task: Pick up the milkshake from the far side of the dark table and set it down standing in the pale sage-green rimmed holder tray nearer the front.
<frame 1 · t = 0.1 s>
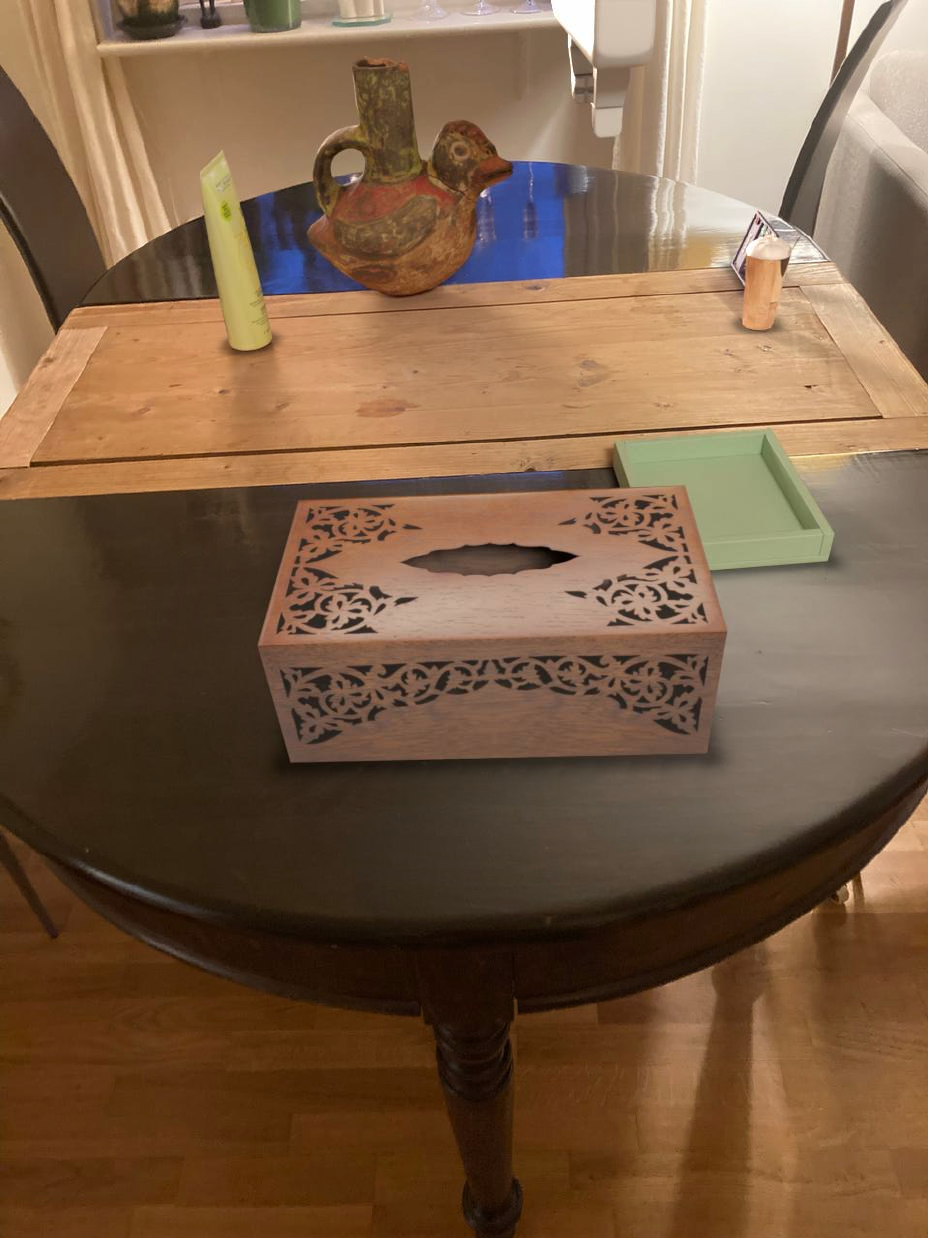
hand: (594, 117, 65), 28 cm above the table, tool pointing down, fingers open, 8 cm apart
holder: (712, 510, 75), on the table
tube: (251, 344, 106), on the table
ceramic vessel: (414, 288, 116), on the table
tissue box cover: (495, 678, 63), on the table
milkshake: (760, 326, 101), on the table
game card: (758, 279, 111), on the table
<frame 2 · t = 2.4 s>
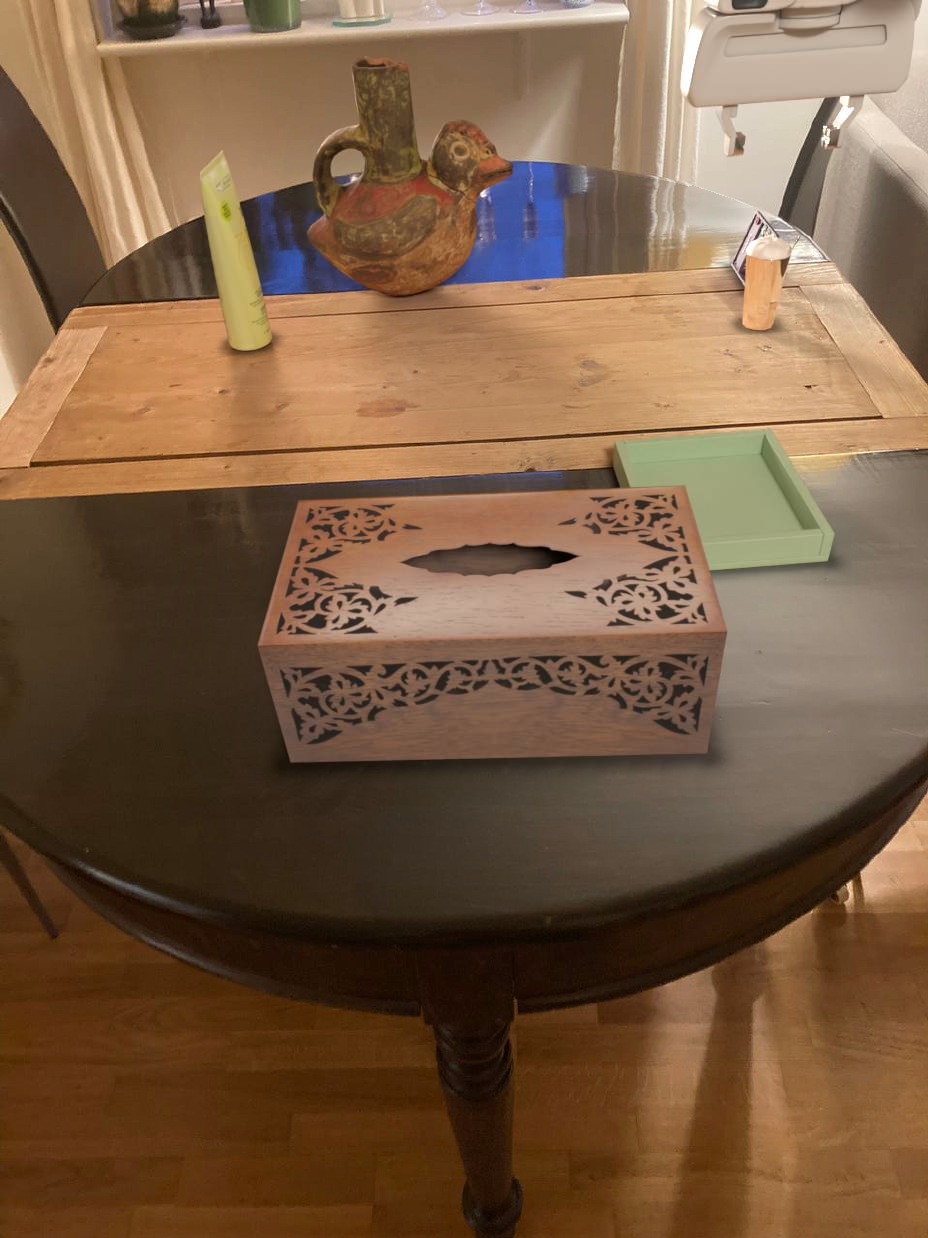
hand: (781, 150, 88), 18 cm above the table, tool pointing down, fingers open, 8 cm apart
nothing on the table moved.
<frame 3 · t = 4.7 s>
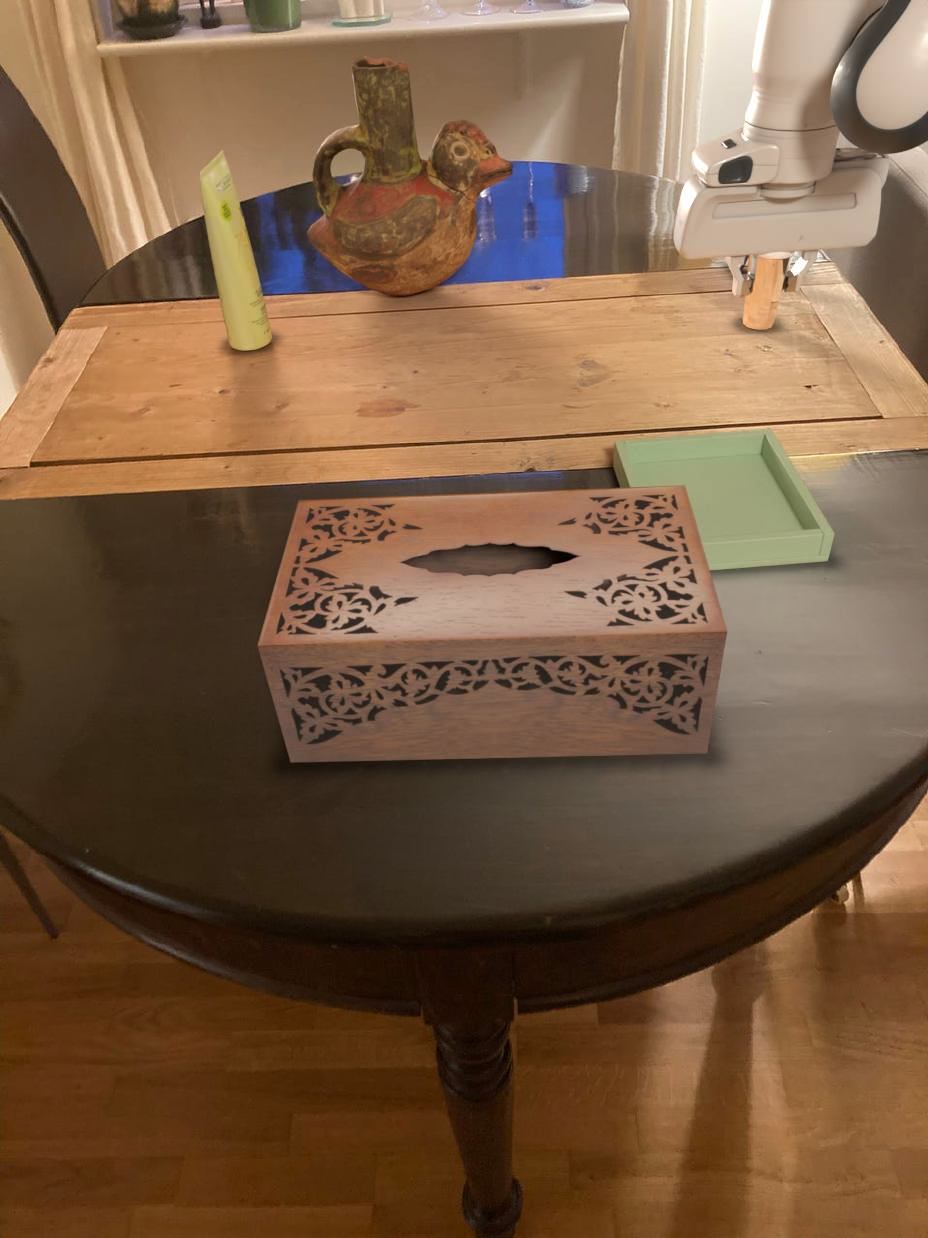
hand: (764, 292, 99), 4 cm above the table, tool pointing down, fingers closed on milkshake, 4 cm apart
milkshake: (760, 326, 101), on the table, touching gripper
everything else where it was.
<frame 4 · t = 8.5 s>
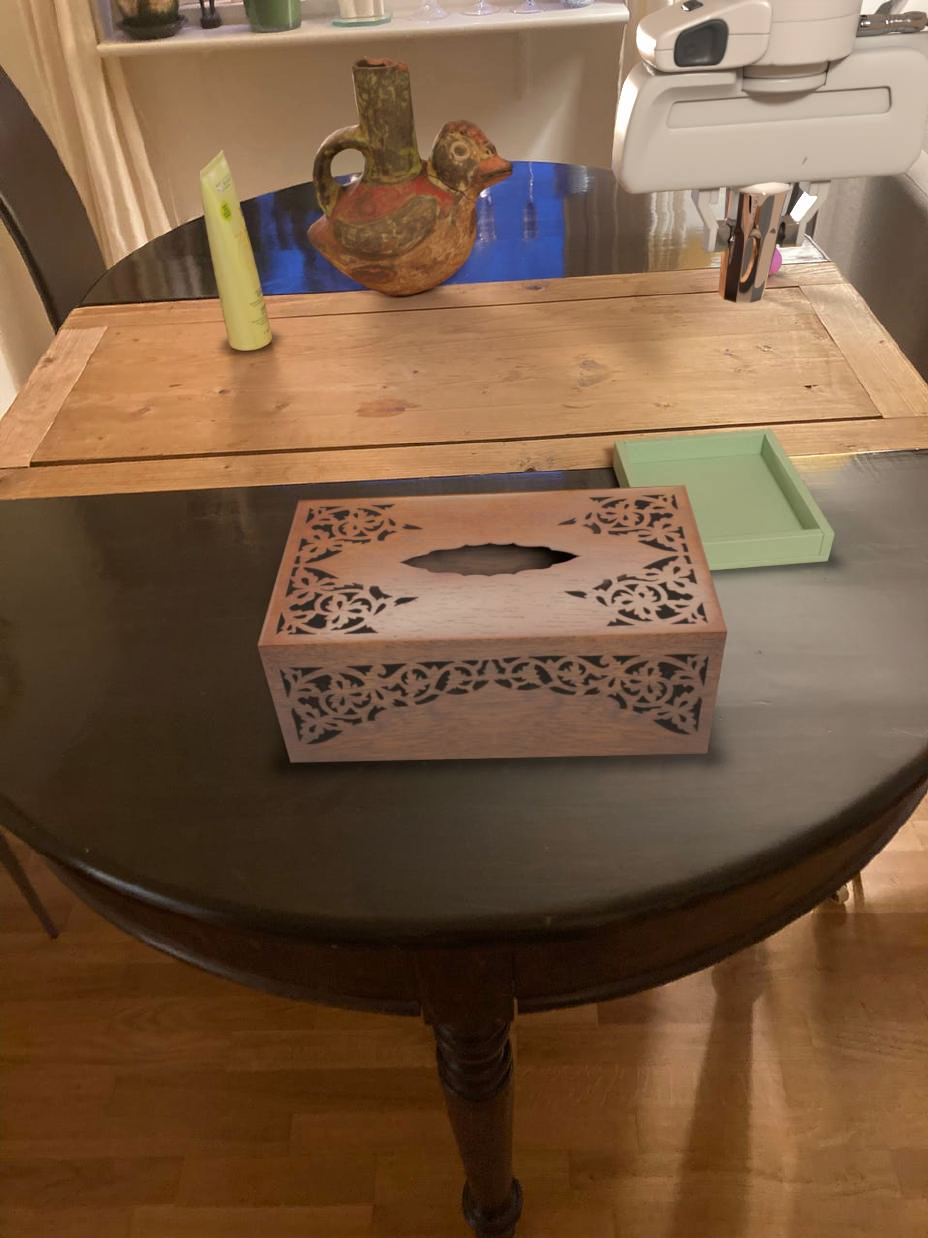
hand: (750, 247, 66), 19 cm above the table, tool pointing down, fingers closed on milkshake, 4 cm apart
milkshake: (745, 299, 69), point 16 cm above the table, touching gripper
everything else where it was.
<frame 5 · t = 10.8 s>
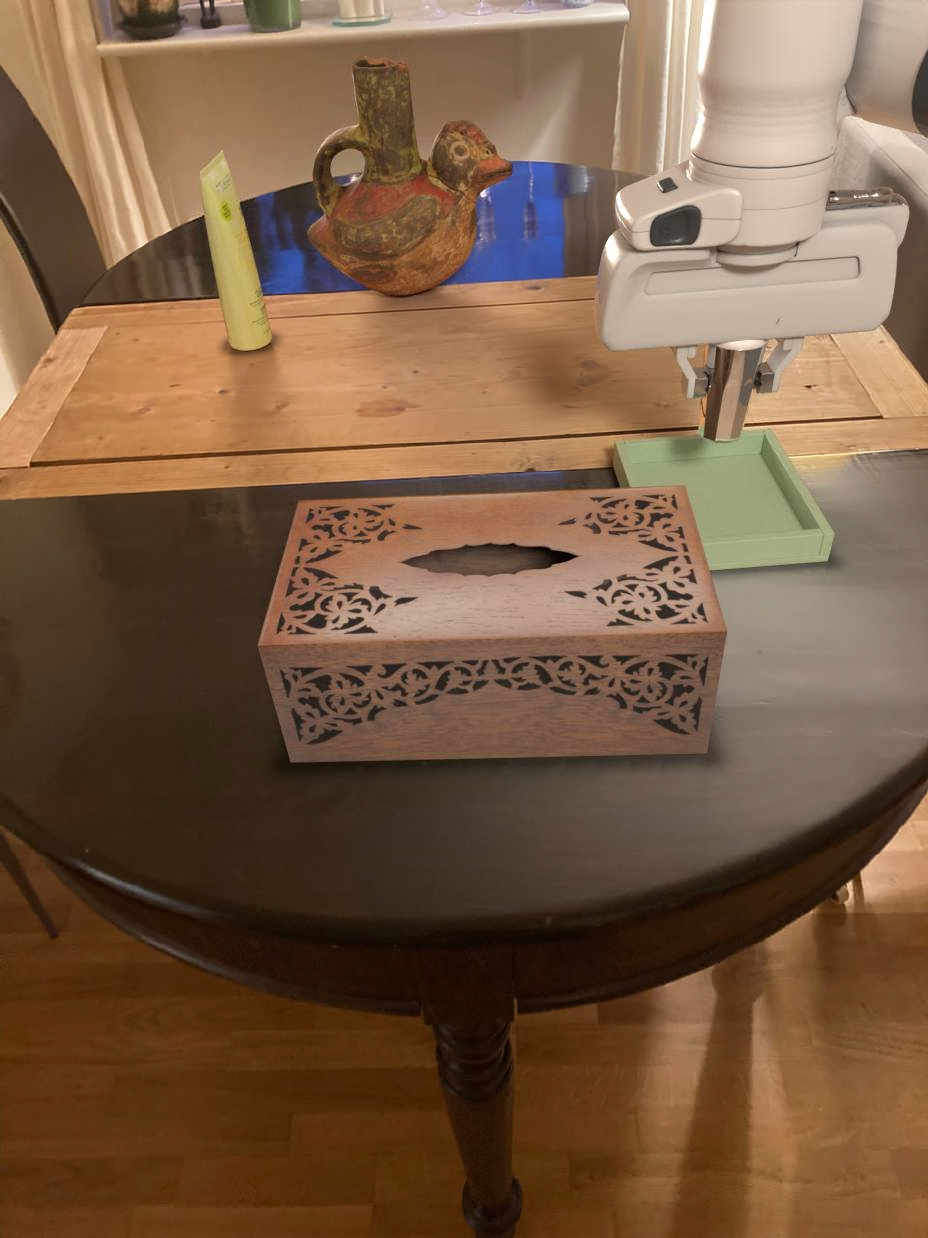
hand: (728, 392, 69), 11 cm above the table, tool pointing down, fingers closed on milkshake, 4 cm apart
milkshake: (724, 437, 71), point 7 cm above the table, touching gripper
everything else where it was.
when the fingers open (4 cm above the table, at t = 12.8 s): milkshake stays where it is, resting on holder.
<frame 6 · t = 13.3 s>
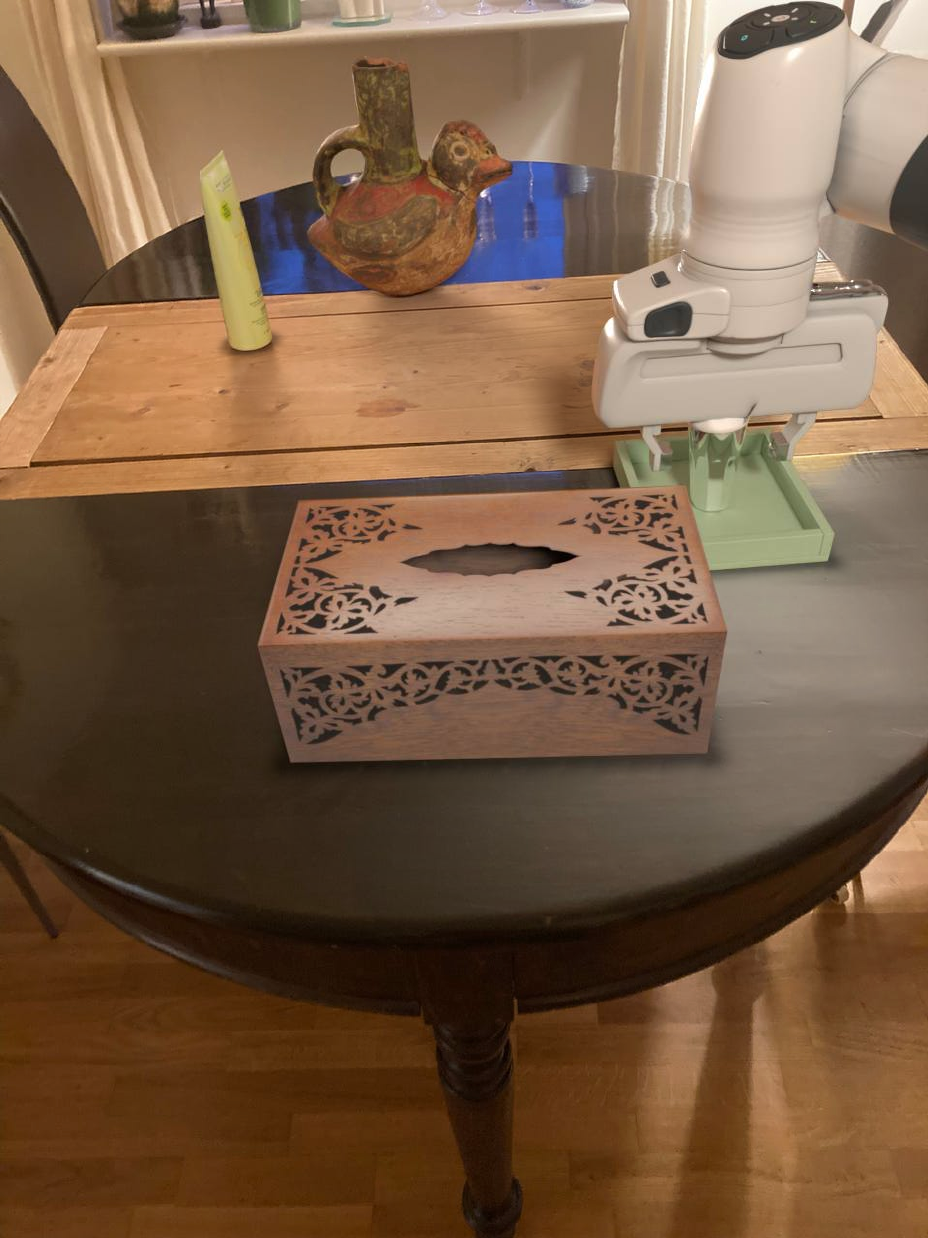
hand: (719, 462, 72), 5 cm above the table, tool pointing down, fingers open, 8 cm apart
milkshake: (715, 504, 75), point 1 cm above the table, touching holder
everything else where it was.
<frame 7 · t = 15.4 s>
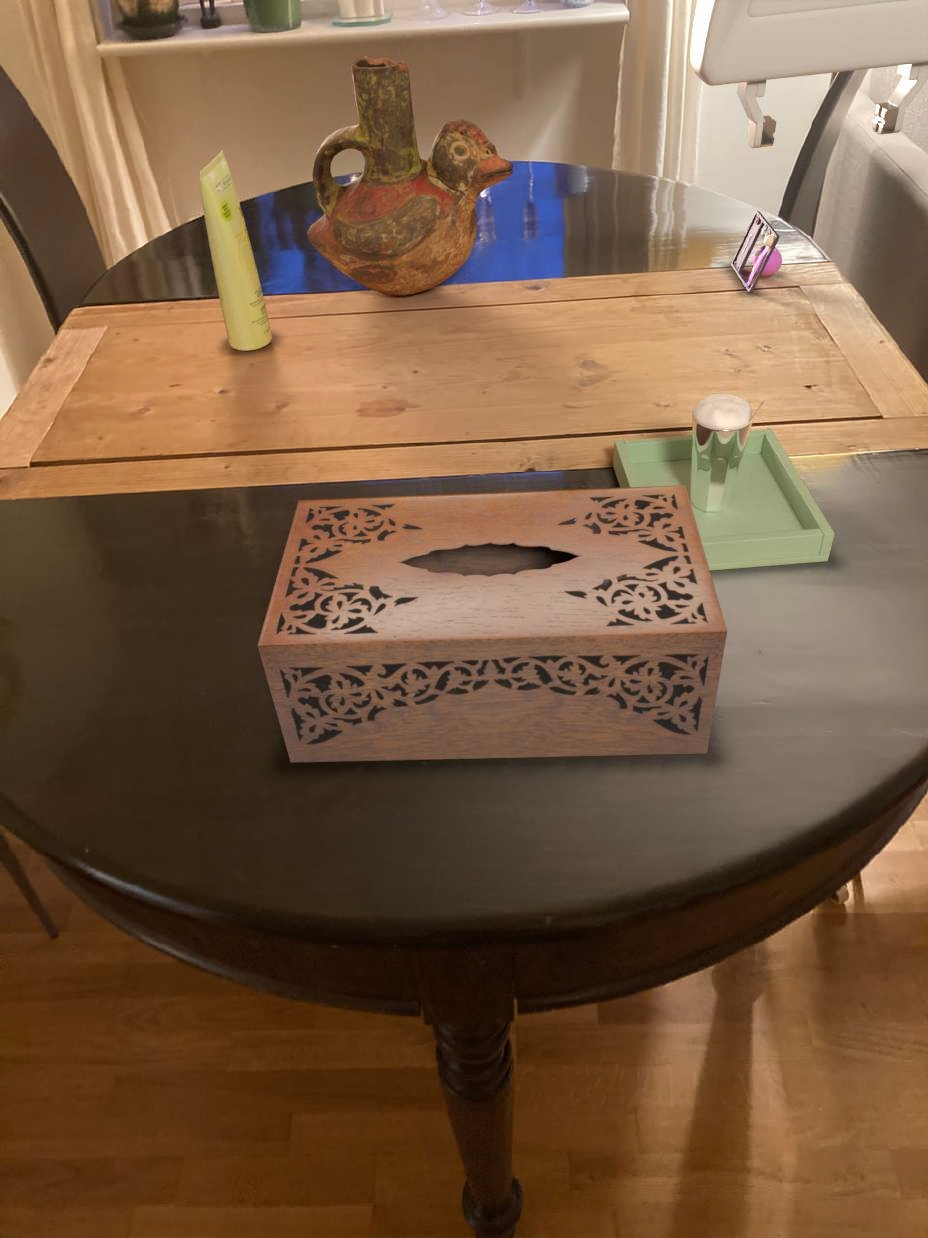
hand: (822, 138, 69), 24 cm above the table, tool pointing down, fingers open, 8 cm apart
nothing on the table moved.
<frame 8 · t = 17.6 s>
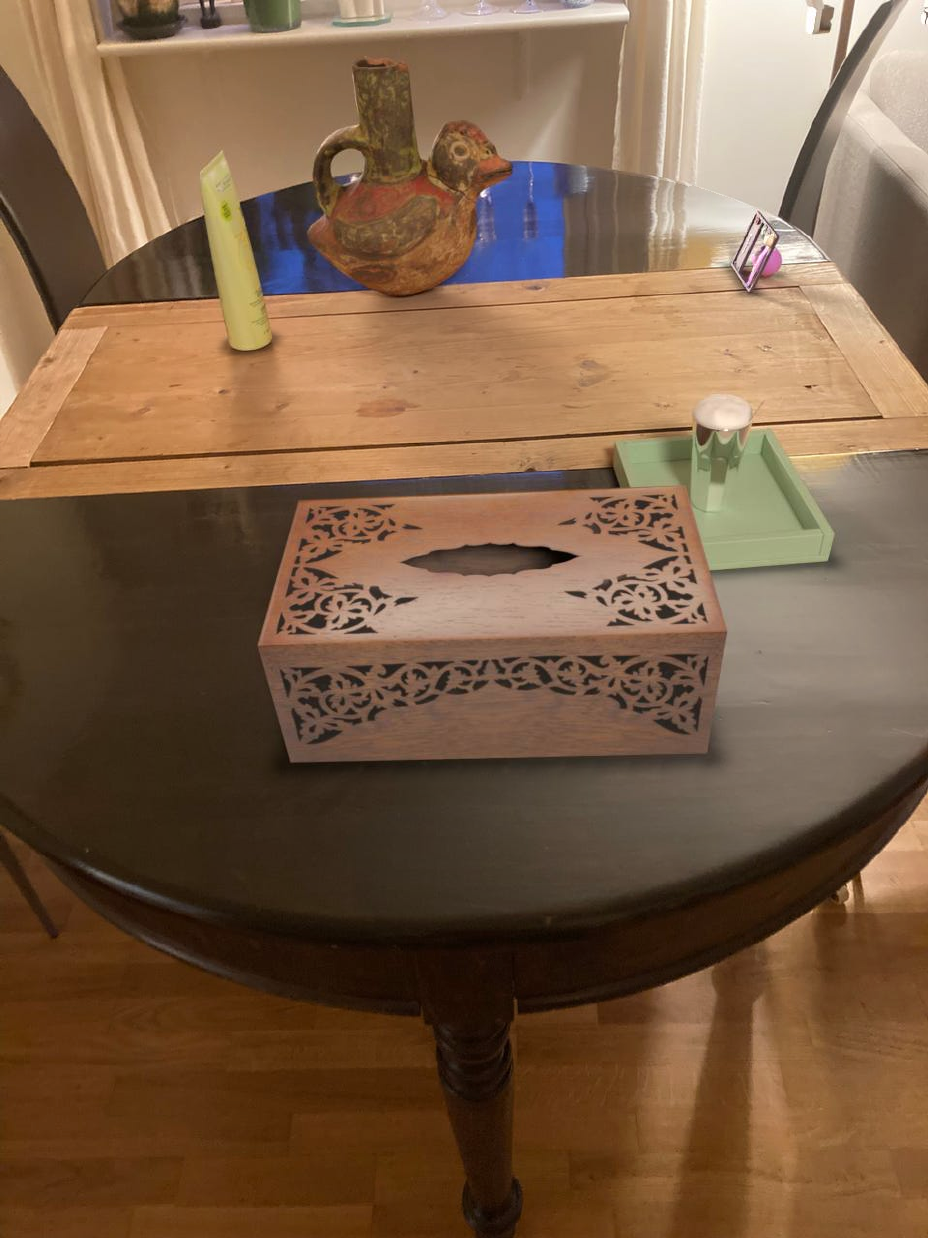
hand: (875, 28, 74), 29 cm above the table, tool pointing down, fingers open, 8 cm apart
nothing on the table moved.
at the end: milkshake inside the target area in the holder (0.2 cm from its centre), point 0.4 cm above the holder's base; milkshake tilted 0°; the gripper is holding nothing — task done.
